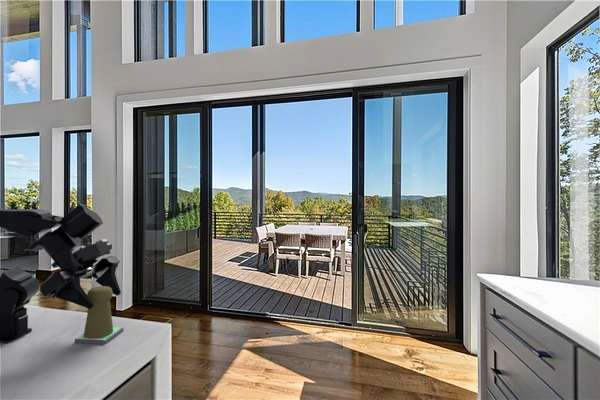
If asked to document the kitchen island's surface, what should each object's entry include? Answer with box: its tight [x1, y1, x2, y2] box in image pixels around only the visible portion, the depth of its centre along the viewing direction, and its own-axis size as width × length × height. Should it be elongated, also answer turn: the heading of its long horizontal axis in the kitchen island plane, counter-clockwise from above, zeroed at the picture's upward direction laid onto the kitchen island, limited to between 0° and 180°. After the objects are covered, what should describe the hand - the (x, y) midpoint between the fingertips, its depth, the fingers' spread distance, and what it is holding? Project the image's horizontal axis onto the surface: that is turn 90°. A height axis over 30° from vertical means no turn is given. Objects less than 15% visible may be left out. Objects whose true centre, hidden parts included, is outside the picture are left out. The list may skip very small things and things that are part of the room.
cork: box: [83, 285, 114, 339], centre depth 75 cm, size 6×6×11 cm
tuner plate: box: [74, 326, 124, 345], centre depth 76 cm, size 7×7×1 cm
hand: (106, 300), depth 75 cm, fingers open, 9 cm apart
